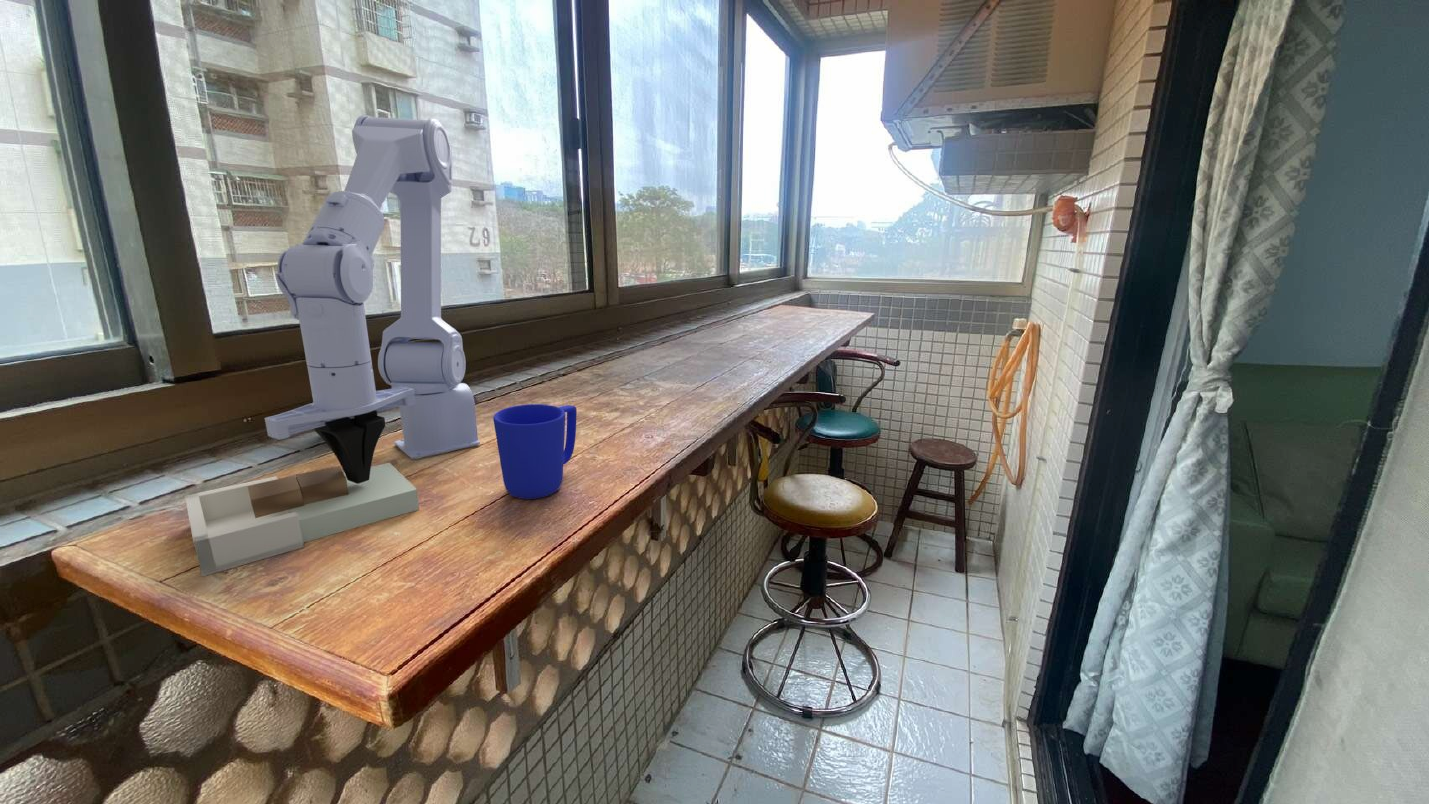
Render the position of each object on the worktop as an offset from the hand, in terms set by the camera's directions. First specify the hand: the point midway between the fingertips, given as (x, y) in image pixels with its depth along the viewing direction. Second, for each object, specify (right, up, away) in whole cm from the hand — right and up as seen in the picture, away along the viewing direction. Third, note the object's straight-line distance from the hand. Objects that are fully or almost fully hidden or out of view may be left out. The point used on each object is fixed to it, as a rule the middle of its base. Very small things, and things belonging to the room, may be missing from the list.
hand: (358, 479), depth 62 cm
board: (-1, -3, 0) cm, 3 cm away
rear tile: (-3, -1, -2) cm, 3 cm away
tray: (-7, -5, -6) cm, 11 cm away
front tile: (-5, -2, -5) cm, 7 cm away
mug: (+19, -2, +8) cm, 20 cm away
